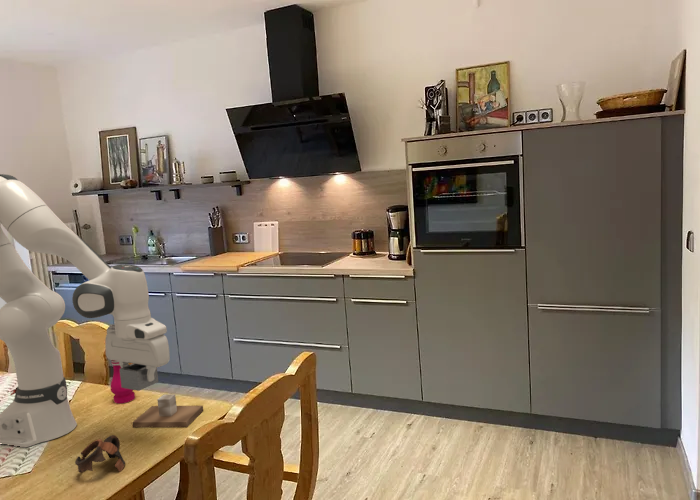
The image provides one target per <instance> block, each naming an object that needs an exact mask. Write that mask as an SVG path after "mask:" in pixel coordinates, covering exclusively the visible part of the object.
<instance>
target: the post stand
mask: <svg viewBox="0 0 700 500" xmlns="http://www.w3.org/2000/svg"><path fill="white" fill-rule="evenodd" d="M176 400H177V399H176V394H172V393H171V394H170V393H169V394H163V395H161V396H160V397H158V398H157V399H156V401H157V405H151V406H150V407H149V408H147V410H145V411H144V412H143V413H142V414H141V415H139V416H138V417H136V419H135V420H133V421H132V422H131V424H132V428H188V427H189V426H190V425H191V424H192V423H193V421H195V420H196V419H197V417H199V415H201V413H203V411H204V405H177V401H176Z"/></svg>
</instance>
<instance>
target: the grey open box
mask: <svg viewBox="0 0 700 500" xmlns="http://www.w3.org/2000/svg"><path fill="white" fill-rule="evenodd" d="M119 370H120V378H121V387H122V388H127V389H132V390H133V391H138V392H139V391H141V390H144V389H146V388H149V387H150V386H153V385H155V384H157V383H159V374H158V367H157V368H156V370H155V373H154V380H153V381H151V382H149V381H145V374H147V372H148V369H146V365H140V364H134V363H130V364H129V365H128V366H126V367H123V368H121V369H119Z"/></svg>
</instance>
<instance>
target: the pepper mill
mask: <svg viewBox="0 0 700 500" xmlns="http://www.w3.org/2000/svg"><path fill="white" fill-rule="evenodd" d="M110 364H111V365H112V368H113V375H112V379H111V381H110V392H111V393H112V394H113V397H112V398H113V403H115V404H119V405H120V404H126V403H130V402H132V401H134V400H135V399H136V394H135V391H134V390H132V389H127V388H122V387H121V378H120V370H119V369H121V366H120V364H119V361H115V360H110Z"/></svg>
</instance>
